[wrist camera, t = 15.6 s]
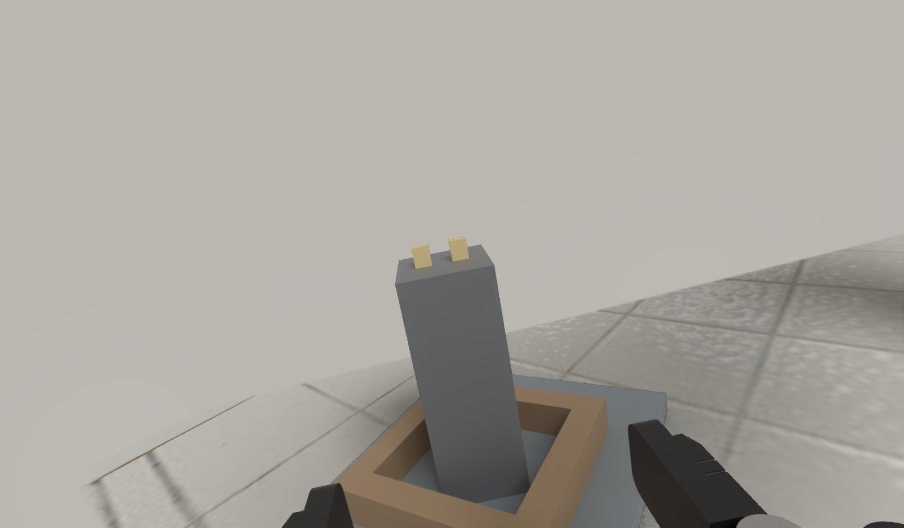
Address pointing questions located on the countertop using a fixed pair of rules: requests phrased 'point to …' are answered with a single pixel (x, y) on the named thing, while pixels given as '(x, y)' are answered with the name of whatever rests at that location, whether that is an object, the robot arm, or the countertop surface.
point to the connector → (463, 371)
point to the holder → (547, 456)
